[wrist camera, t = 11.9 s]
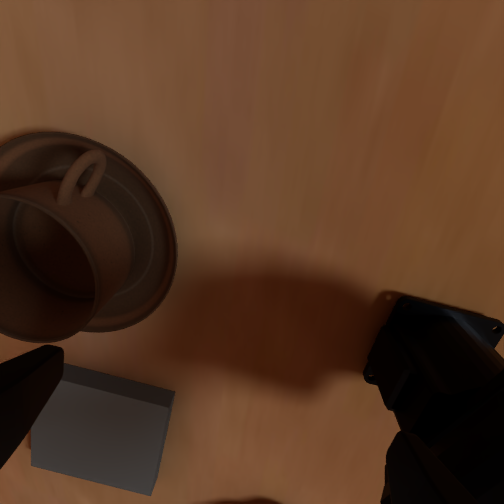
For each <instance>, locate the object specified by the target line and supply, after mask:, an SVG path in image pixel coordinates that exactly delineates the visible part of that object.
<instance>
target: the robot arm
mask: <svg viewBox="0 0 504 504" xmlns="http://www.w3.org/2000/svg"><path fill="white" fill-rule="evenodd" d="M405 303H409V305H408V306H406V307H403V305H404V304H405ZM496 326H497V328H496V329H494V330H492V329H493V328H494V327H496ZM503 334H504V324H503V323H502V322H501V321H500V320H498V319H494V318H490V317H486V316H483V315H479V314H475V313H471V312H467V311H463V310H459V309H455V308H452V307H448V306H444V305H440V304H436V303H432V302H428V301H425V300H421V299H417V298H413V297H409V296H403V297H400V298H399V299H398V300H397V301H396V304H395V306H394V308H393V310H392V312H391V314H390V316H389V318H388V320H387V323H386V324H385V325H384V326H382V327H381V329H380V331H379V333H378V336H377V338H376V340H375V342H374V344H373V346H372V348H371V350H370V353H369V355H368V357H367V358H368V363H367V365H366V367H365V369H364V371H363V376H364V379H365V381H366V382H367V383H369V384H373V385H377V386H378V388H379V391H380V393H381V396H382V399H383V402H384V404H385V406H386V408H387V409H388V410H390V411H393V412H394V414H395V417H396V419H397V422H398V424H399V427H400V430H401V431H399V432H398V433H397V434H396V436H395V438H394V439H393V441H392V443H391V445H390V447H389V448H388V450H387V454H386V465H385V486H384V489H383V493H382V497H381V501H380V502H381V504H504V359H503V358H502V357H501V355H500V354H499V353H498V352H497V351H496V350H495V349H494V348H495V347H496V345H497V344H498V342H499V341H500V339H501V338H502V336H503ZM63 372H64V351H63V349H62V348H61V347H57V346H53V345H44V346H41V347H39V348H37V349H34V350H32V351H29V352H27V353H25V354H22V355H20V356H18V357H15V358H13V359H10V360H8V361H6V362H3V363H1V364H0V469H1V468H2V467H3V465H4V464H5V463H6V462H7V460H8V459H9V458H10V456H11V455H12V454H13V452H14V451H15V450H16V449H17V447H18V446H19V444H20V443H21V442H22V440H23V439H24V438H25V436H26V435H27V433H28V432H29V430H30V429H31V427H32V425H33V424H34V422H35V421H36V419H37V418H38V416H39V414H40V413H41V411H42V410H43V408H44V406H45V405H46V403H47V402H48V400H49V398H50V397H51V395H52V394H53V392H54V391H55V389H56V387H57V386H58V384H59V383H60V381H61V379H62V376H63ZM369 375H373V376H369Z"/></svg>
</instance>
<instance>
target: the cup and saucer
mask: <svg viewBox="0 0 504 504" xmlns="http://www.w3.org/2000/svg"><path fill="white" fill-rule="evenodd" d="M177 257H178V250H177V238H176V233H175V228H174V225H173V221H172V218H171V216H170V213H169V211H168V209H167V206H166V204H165V203H164V201H163V199H162V197H161V196H160V194H159V192H158V191H157V189H156V188H155V187H154V185H153V184H152V183H151V182H150V180H149V179H148V178H147V177H146V176H145V175H144V174H143V173H142V172H141V170H139V169H138V168H137V167H136V166H135V165H134V164H133V163H132V162H130V161H129V160H128V159H126V158H125V157H124V156H122V155H121V154H119V153H118V152H116V151H114V150H113V149H111V148H109V147H107V146H105V145H103V144H101V143H99V142H96V141H94V140H91V139H88V138H85V137H81V136H78V135H74V134H68V133H60V132H39V133H32V134H28V135H24V136H21V137H18V138H16V139H13V140H11V141H9V142H8V143H6V144H4V145H2V146H1V147H0V333H2V334H4V335H6V336H9V337H11V338H14V339H18V340H21V341H26V342H33V343H51V342H57V341H61V340H64V339H67V338H69V337H71V336H73V335H75V334H76V333H78V332H79V331H83V332H111V331H117V330H121V329H124V328H127V327H130V326H132V325H135V324H137V323H139V322H140V321H142V320H144V319H145V318H147V317H148V316H149V315H150V314H152V313H153V312H154V311H155V310H156V309H157V308H158V307H159V305H160V304H161V303H162V302H163V300H164V299H165V297H166V295H167V294H168V292H169V290H170V287H171V285H172V282H173V279H174V276H175V271H176V266H177Z"/></svg>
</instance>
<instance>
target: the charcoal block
mask: <svg viewBox="0 0 504 504" xmlns="http://www.w3.org/2000/svg"><path fill="white" fill-rule="evenodd" d="M174 396H175V391H171V390H167V389H163V388H159V387H155V386H151V385H147V384H144V383H140V382H136V381H132V380H128V379H124V378H120V377H116V376H112V375H108V374H105V373H101V372H97V371H93V370H89V369H85V368H81V367H77V366H73V365H69V364H66V363H64V372H63V376H62V379H61V381H60V383H59V384H58V386H57V387H56V389H55V391H54V392H53V394H52V395H51V397H50V398H49V400H48V402H47V403H46V405H45V406H44V408H43V410H42V411H41V413H40V414H39V416H38V418H37V419H36V421H35V422H34V424H33V425H32V427H31V466H34V467H38V468H42V469H46V470H50V471H54V472H57V473H61V474H65V475H69V476H73V477H77V478H81V479H85V480H89V481H93V482H97V483H101V484H105V485H109V486H112V487H116V488H120V489H124V490H128V491H132V492H136V493H140V494H144V495H148V496H151V494H152V491H153V488H154V486H155V483H156V480H157V477H158V472H159V467H160V462H161V458H162V453H163V448H164V443H165V439H166V434H167V429H168V424H169V420H170V415H171V410H172V405H173V401H174Z"/></svg>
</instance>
